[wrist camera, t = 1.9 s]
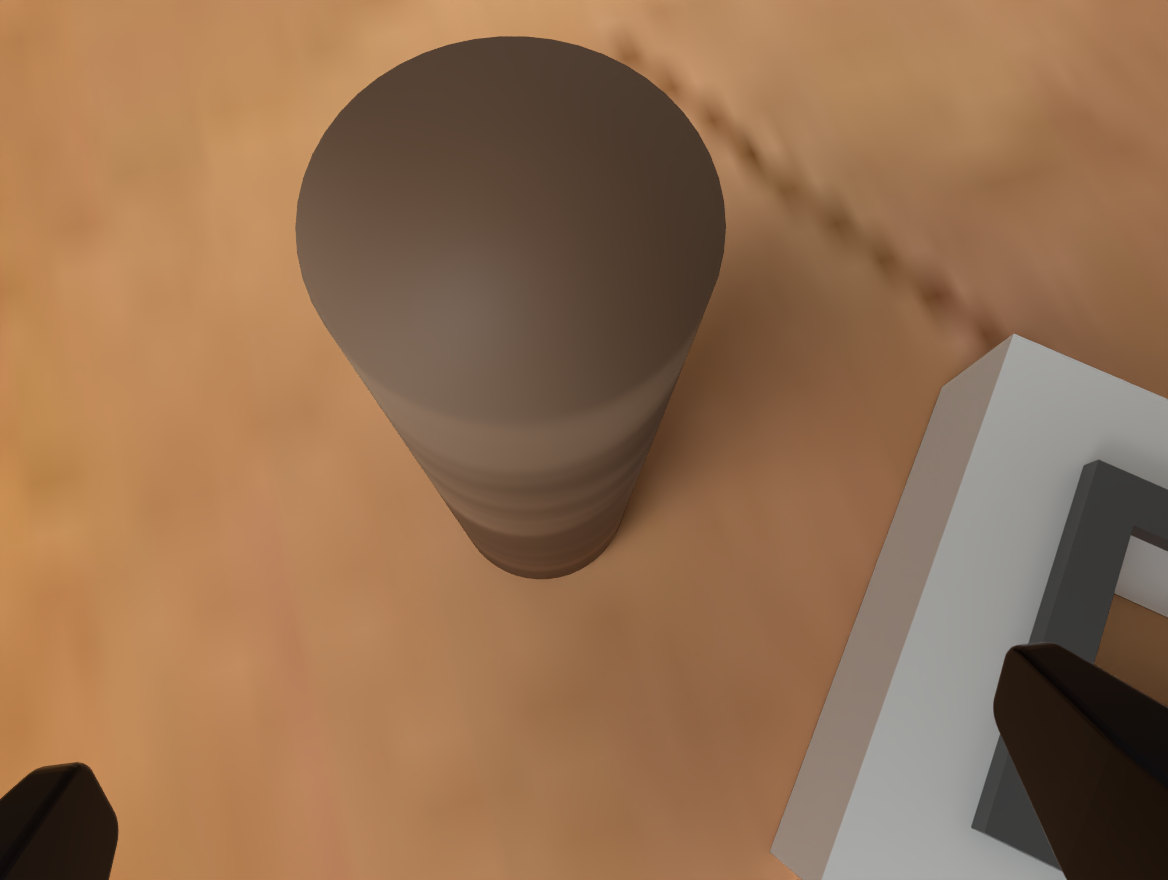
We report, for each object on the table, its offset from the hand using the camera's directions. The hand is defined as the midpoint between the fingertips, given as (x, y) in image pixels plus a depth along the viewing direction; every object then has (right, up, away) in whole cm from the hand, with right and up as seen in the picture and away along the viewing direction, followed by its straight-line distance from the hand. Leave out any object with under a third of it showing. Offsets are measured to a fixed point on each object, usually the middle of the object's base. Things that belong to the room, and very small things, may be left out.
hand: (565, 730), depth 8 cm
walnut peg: (-1, +2, +12) cm, 12 cm away
